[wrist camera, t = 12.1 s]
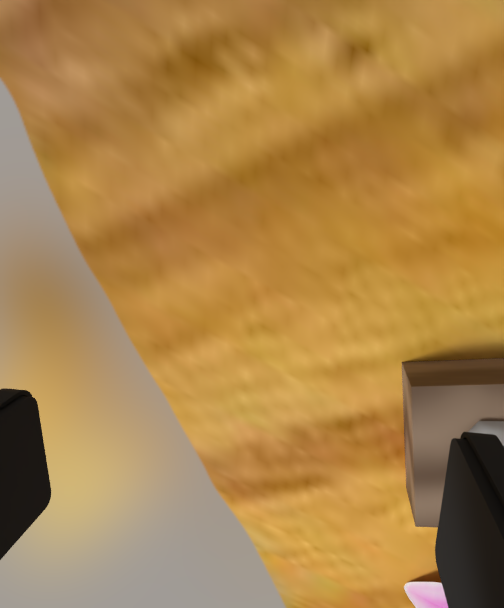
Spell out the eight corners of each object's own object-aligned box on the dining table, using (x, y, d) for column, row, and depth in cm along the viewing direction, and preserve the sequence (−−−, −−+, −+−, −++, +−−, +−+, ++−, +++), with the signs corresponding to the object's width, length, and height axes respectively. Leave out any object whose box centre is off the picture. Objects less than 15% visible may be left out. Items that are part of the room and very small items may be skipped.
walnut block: (400, 359, 35) (411, 386, 30) (563, 353, 33) (602, 381, 28) (405, 484, 38) (415, 526, 33) (555, 487, 36) (589, 533, 31)
